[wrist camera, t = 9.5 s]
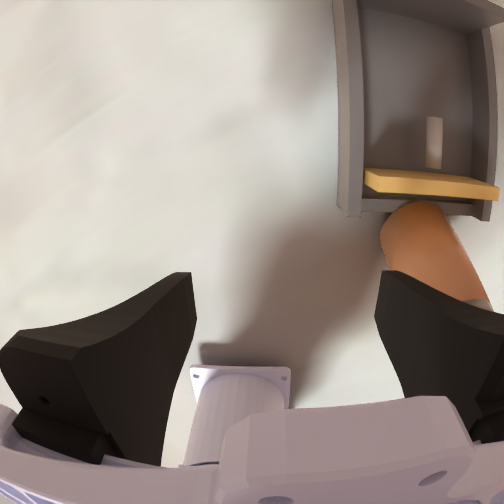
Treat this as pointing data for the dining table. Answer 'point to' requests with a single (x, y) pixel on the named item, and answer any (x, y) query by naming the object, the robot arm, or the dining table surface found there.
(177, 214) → the dining table surface
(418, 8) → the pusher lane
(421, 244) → the jar
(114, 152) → the dining table surface
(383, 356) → the dining table surface
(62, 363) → the robot arm
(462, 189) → the tan pusher block
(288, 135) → the dining table surface
